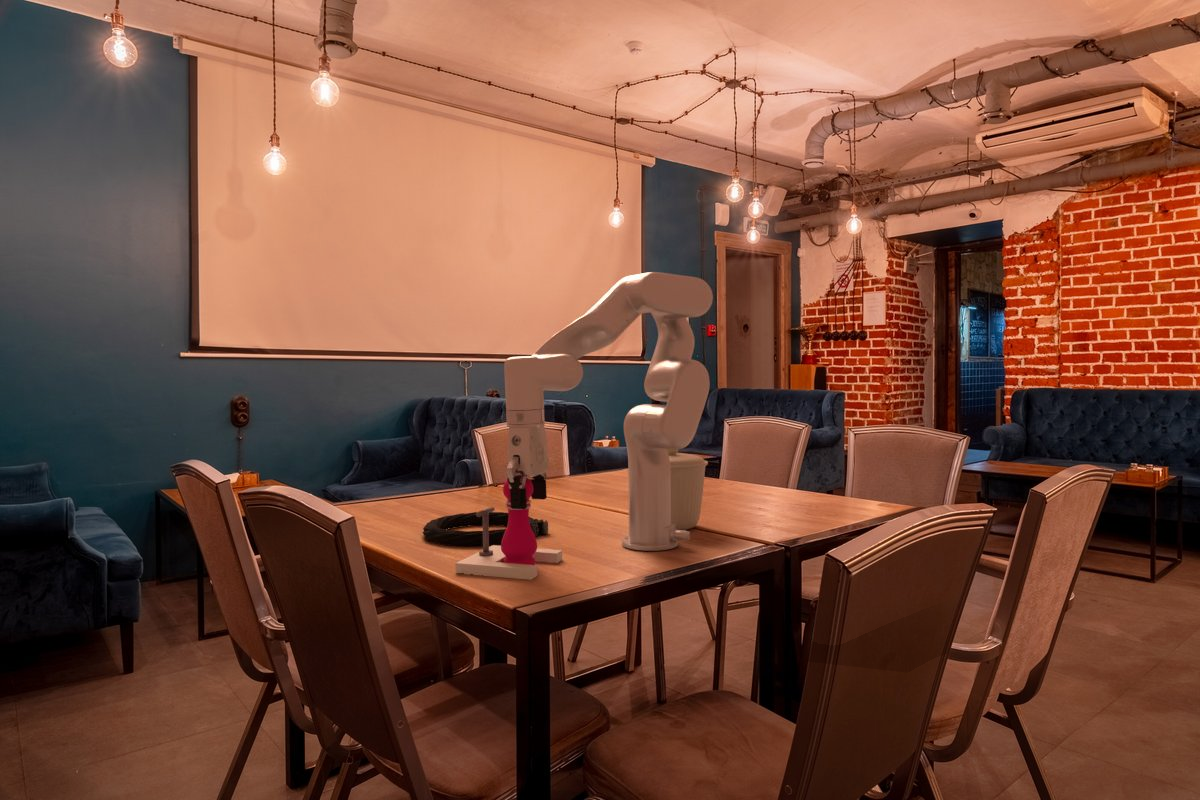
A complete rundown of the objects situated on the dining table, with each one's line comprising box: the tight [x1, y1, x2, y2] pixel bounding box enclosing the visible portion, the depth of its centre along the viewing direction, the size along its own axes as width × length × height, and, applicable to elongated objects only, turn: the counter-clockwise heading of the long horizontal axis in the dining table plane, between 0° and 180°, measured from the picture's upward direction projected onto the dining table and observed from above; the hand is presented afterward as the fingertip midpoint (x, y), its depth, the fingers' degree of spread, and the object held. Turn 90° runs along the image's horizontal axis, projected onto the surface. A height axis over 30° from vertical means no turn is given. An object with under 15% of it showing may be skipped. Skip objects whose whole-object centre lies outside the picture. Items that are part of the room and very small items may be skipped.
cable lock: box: [422, 511, 549, 547], centre depth 184 cm, size 28×4×30 cm
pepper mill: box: [500, 477, 538, 565], centre depth 151 cm, size 7×7×20 cm
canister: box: [666, 449, 709, 530], centre depth 190 cm, size 18×18×21 cm
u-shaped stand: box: [455, 506, 563, 581], centre depth 153 cm, size 16×16×11 cm
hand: (529, 503), depth 152 cm, fingers open, 9 cm apart
